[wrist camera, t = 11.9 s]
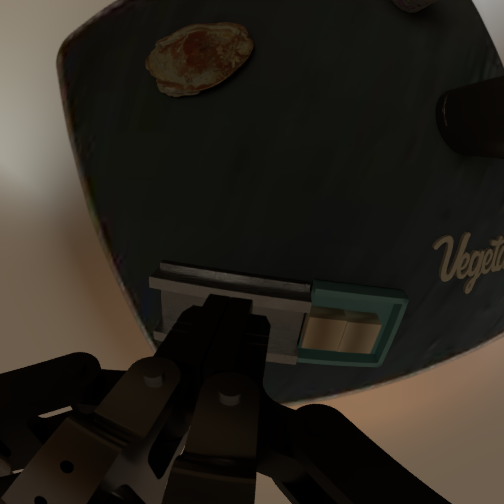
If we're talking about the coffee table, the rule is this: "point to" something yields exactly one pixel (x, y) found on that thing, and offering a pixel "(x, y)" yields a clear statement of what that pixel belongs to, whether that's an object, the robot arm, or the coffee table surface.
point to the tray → (363, 300)
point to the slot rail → (242, 286)
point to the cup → (412, 5)
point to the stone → (198, 57)
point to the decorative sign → (469, 259)
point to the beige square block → (323, 328)
